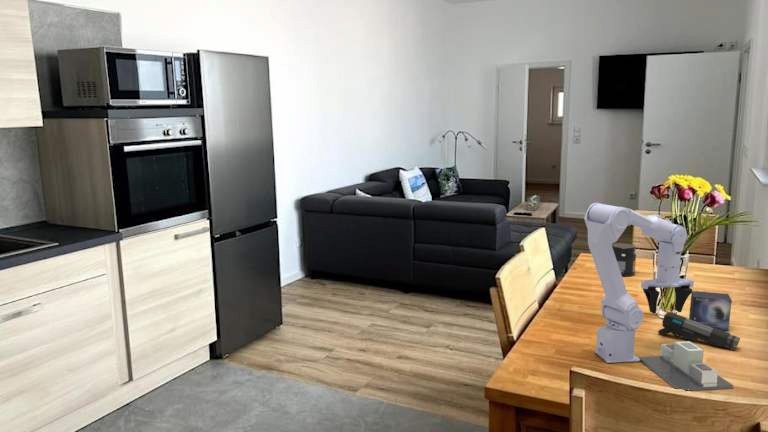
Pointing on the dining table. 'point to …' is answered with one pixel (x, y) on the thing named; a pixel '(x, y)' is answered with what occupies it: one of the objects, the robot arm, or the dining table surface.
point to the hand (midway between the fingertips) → (665, 311)
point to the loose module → (687, 355)
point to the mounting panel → (696, 379)
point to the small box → (711, 309)
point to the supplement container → (625, 258)
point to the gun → (697, 331)
